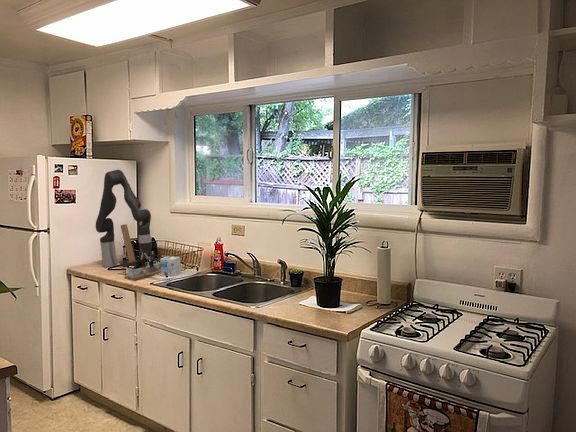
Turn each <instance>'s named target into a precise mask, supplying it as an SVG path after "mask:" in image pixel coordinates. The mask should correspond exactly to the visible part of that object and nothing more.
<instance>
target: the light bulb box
mask: <svg viewBox="0 0 576 432" xmlns="http://www.w3.org/2000/svg"><path fill="white" fill-rule="evenodd" d="M159 262H160V266H161V274H160V275H161V276H165V277H167V276H169V277H177V276H179V275H181V274H182V268H181V257H180V256H164V257H162V258H160V259H159Z"/></svg>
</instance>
